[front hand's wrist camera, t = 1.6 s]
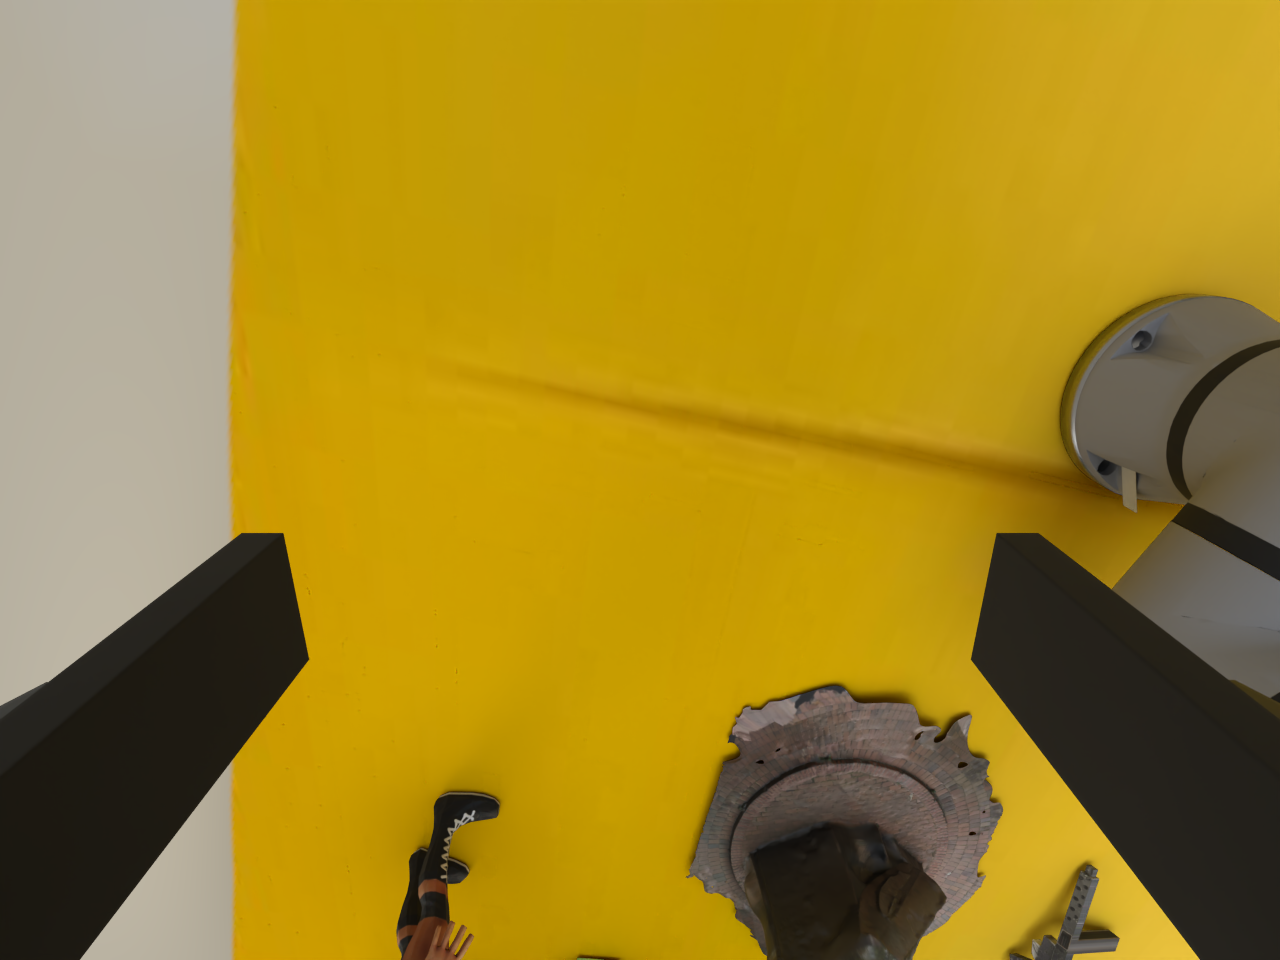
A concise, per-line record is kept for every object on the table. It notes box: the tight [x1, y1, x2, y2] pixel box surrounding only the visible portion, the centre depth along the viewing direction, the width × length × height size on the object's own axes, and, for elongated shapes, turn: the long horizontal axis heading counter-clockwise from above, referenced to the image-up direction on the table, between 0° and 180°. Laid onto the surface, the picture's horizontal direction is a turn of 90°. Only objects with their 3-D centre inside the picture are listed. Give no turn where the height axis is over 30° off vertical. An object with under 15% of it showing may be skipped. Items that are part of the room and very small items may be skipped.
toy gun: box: [1010, 865, 1120, 960], centre depth 70 cm, size 17×8×10 cm
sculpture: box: [686, 686, 1003, 960], centre depth 59 cm, size 33×35×16 cm
